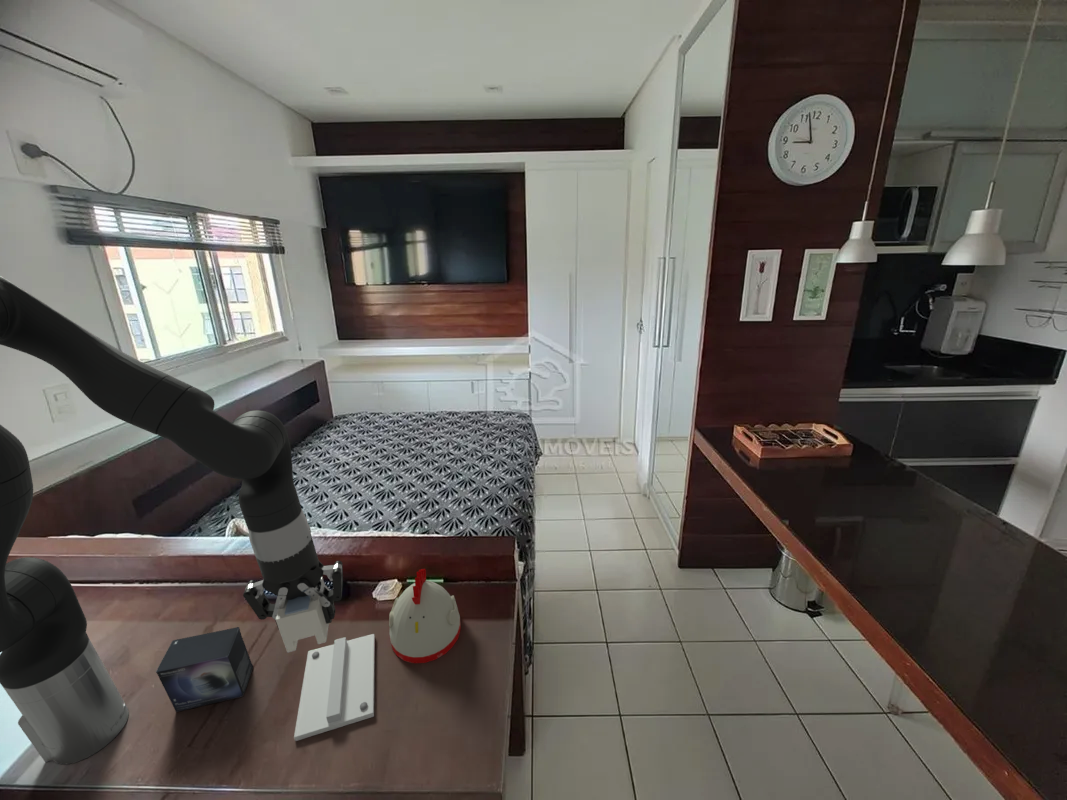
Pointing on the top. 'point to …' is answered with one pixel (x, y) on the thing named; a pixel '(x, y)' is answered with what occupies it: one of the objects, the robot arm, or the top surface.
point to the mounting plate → (322, 684)
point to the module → (301, 621)
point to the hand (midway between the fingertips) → (309, 624)
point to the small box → (205, 669)
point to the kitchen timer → (423, 621)
